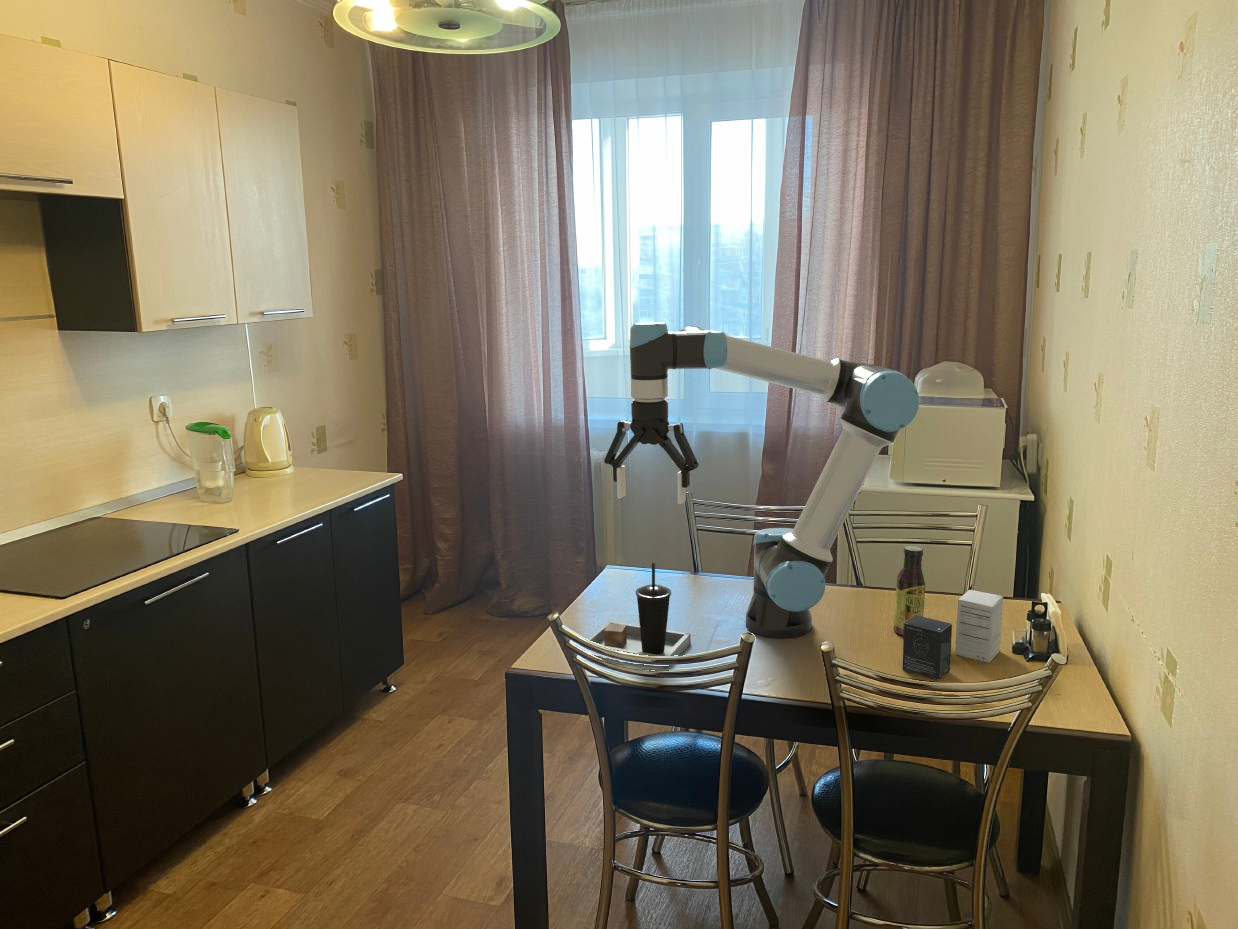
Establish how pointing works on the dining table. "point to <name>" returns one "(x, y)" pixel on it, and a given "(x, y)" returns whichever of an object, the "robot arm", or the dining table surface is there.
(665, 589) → the drinking cup
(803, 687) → the dining table surface
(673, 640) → the tray
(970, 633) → the supplement box
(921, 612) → the sauce bottle
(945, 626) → the box
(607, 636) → the walnut block
